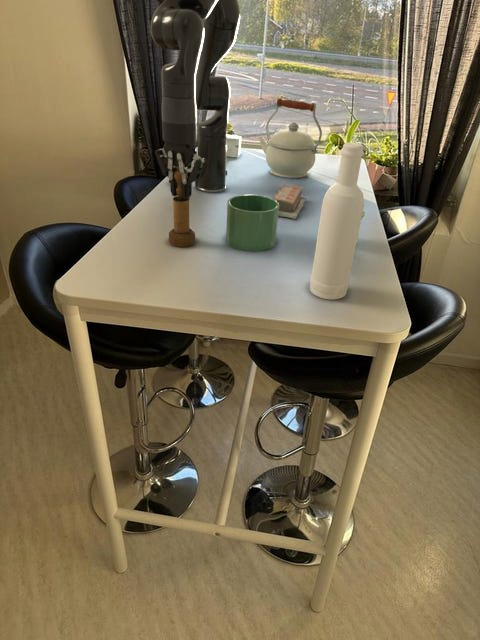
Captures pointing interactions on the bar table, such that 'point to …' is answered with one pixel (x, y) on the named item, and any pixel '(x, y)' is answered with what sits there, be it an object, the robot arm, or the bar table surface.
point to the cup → (252, 222)
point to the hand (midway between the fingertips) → (181, 196)
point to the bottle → (339, 228)
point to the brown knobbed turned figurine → (181, 218)
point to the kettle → (291, 145)
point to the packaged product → (289, 201)
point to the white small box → (233, 145)
